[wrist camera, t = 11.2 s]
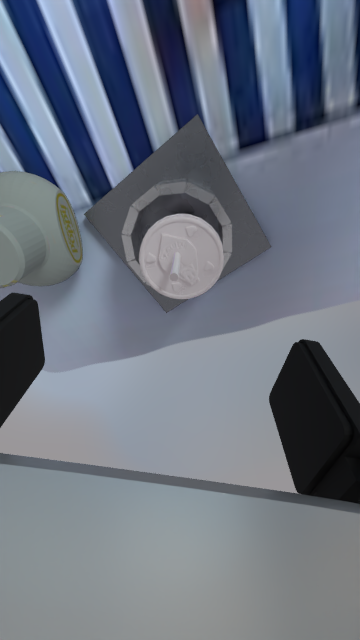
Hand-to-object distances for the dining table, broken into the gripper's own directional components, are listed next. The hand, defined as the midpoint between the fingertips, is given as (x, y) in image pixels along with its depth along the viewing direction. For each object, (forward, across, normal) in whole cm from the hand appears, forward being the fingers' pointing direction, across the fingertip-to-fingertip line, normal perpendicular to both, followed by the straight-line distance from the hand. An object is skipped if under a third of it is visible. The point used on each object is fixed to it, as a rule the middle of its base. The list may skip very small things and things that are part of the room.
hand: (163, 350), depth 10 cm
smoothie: (+21, 0, +1) cm, 21 cm away
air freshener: (+22, +15, +3) cm, 27 cm away
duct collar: (+22, 0, +1) cm, 22 cm away
